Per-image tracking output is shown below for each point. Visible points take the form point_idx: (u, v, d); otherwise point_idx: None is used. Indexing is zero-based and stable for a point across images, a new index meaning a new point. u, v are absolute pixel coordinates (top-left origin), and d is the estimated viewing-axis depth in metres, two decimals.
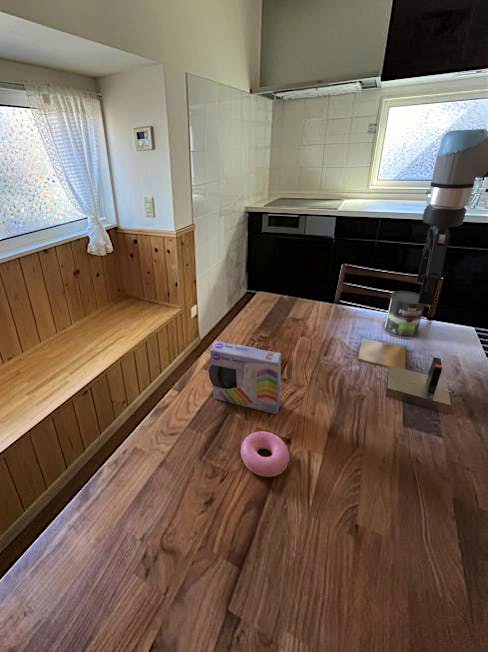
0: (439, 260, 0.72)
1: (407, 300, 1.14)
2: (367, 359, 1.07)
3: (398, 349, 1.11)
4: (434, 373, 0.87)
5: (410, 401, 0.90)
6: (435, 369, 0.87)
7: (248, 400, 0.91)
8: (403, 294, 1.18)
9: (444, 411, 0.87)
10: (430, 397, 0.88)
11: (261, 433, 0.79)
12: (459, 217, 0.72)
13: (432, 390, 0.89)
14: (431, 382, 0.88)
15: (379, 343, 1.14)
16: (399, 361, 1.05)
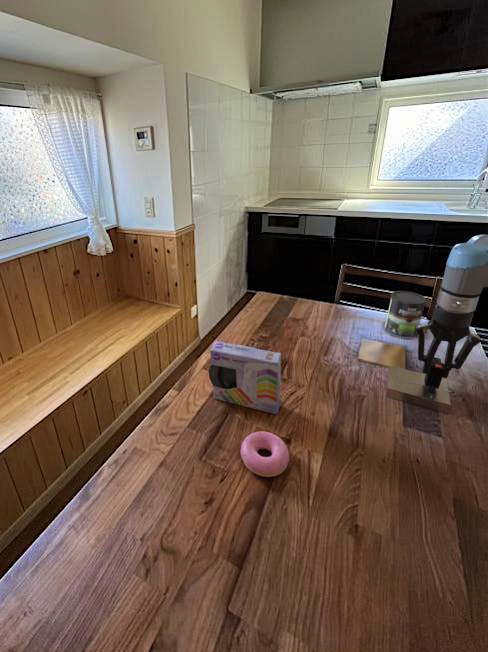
0: None
1: (407, 300, 1.14)
2: (367, 359, 1.07)
3: (398, 349, 1.11)
4: (434, 373, 0.87)
5: (410, 401, 0.90)
6: (435, 369, 0.87)
7: (248, 400, 0.91)
8: (404, 294, 1.18)
9: (444, 411, 0.87)
10: (430, 397, 0.88)
11: (261, 433, 0.79)
12: None
13: (432, 390, 0.89)
14: (431, 382, 0.88)
15: (379, 343, 1.14)
16: (399, 361, 1.05)
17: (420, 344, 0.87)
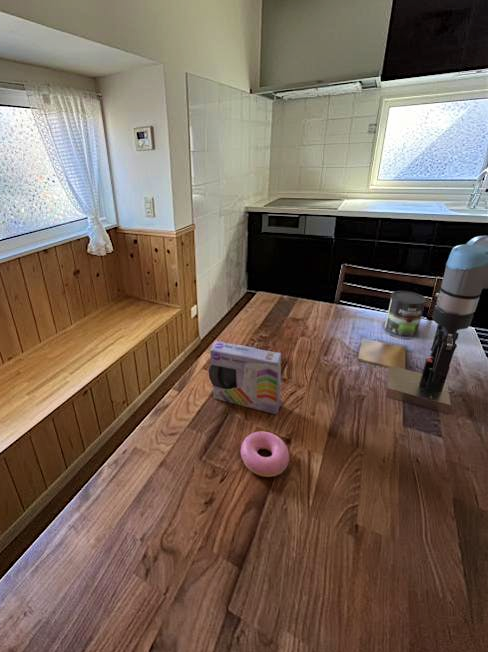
0: (445, 362, 0.81)
1: (407, 300, 1.14)
2: (367, 359, 1.07)
3: (398, 349, 1.11)
4: None
5: (410, 401, 0.90)
6: (425, 361, 0.90)
7: (248, 400, 0.91)
8: (404, 294, 1.18)
9: (444, 411, 0.87)
10: (430, 397, 0.88)
11: (261, 433, 0.79)
12: (467, 322, 0.79)
13: (420, 382, 0.92)
14: (422, 373, 0.92)
15: (379, 343, 1.14)
16: (399, 361, 1.05)
17: (435, 334, 0.91)
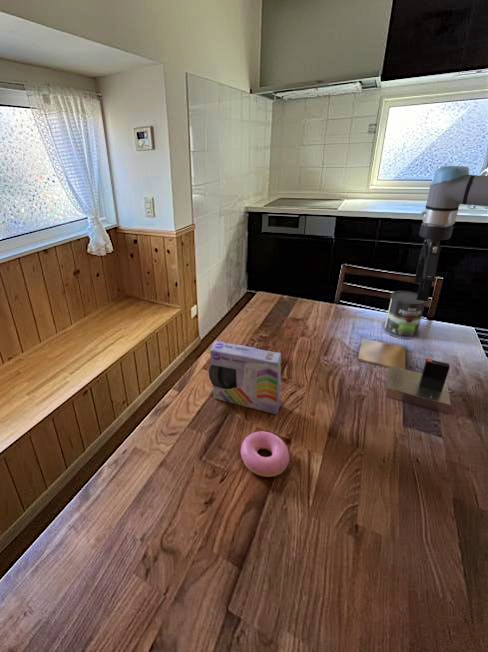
0: (433, 266, 0.93)
1: (407, 300, 1.14)
2: (367, 359, 1.07)
3: (398, 349, 1.11)
4: None
5: (410, 401, 0.90)
6: (425, 361, 0.90)
7: (248, 400, 0.91)
8: (404, 294, 1.18)
9: (444, 411, 0.87)
10: (430, 397, 0.88)
11: (261, 433, 0.79)
12: (448, 233, 0.93)
13: (420, 382, 0.92)
14: (422, 373, 0.92)
15: (379, 343, 1.14)
16: (399, 361, 1.05)
17: None
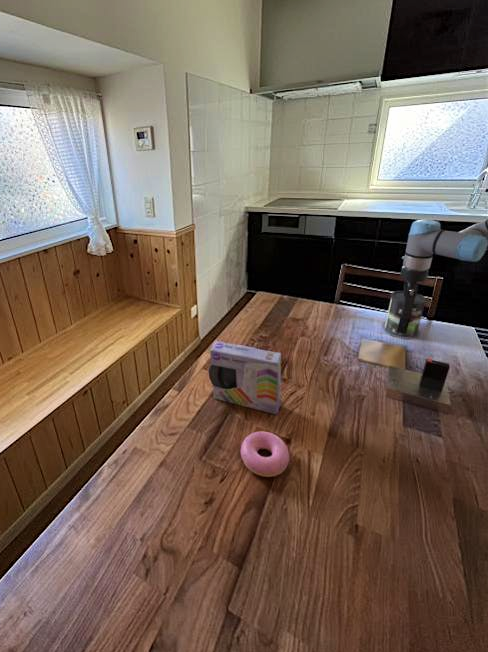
0: (409, 306, 1.09)
1: None
2: (367, 359, 1.07)
3: (398, 349, 1.11)
4: None
5: (410, 401, 0.90)
6: (425, 361, 0.90)
7: (248, 400, 0.91)
8: (403, 294, 1.18)
9: (444, 411, 0.87)
10: (430, 397, 0.88)
11: (261, 433, 0.79)
12: (423, 276, 1.09)
13: (420, 382, 0.92)
14: (422, 373, 0.92)
15: (379, 343, 1.14)
16: (399, 361, 1.05)
17: None
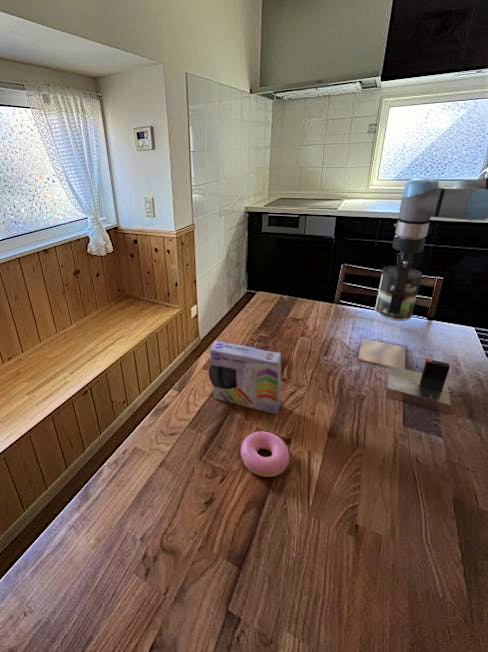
0: (403, 281, 0.94)
1: None
2: (367, 359, 1.07)
3: (398, 349, 1.11)
4: None
5: (410, 401, 0.90)
6: (425, 361, 0.90)
7: (248, 400, 0.91)
8: None
9: (444, 411, 0.87)
10: (430, 397, 0.88)
11: (261, 433, 0.79)
12: (419, 246, 0.93)
13: (420, 382, 0.92)
14: (422, 373, 0.92)
15: (379, 343, 1.14)
16: (399, 361, 1.05)
17: None
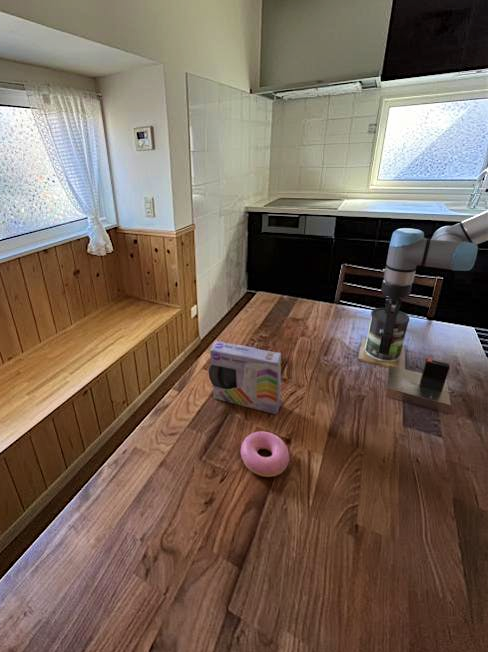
0: (391, 324, 0.96)
1: None
2: (367, 359, 1.07)
3: None
4: None
5: (410, 401, 0.90)
6: (425, 361, 0.90)
7: (248, 400, 0.91)
8: None
9: (444, 411, 0.87)
10: (430, 397, 0.88)
11: (261, 433, 0.79)
12: (406, 292, 0.97)
13: (420, 382, 0.92)
14: (422, 373, 0.92)
15: None
16: (399, 361, 1.05)
17: None
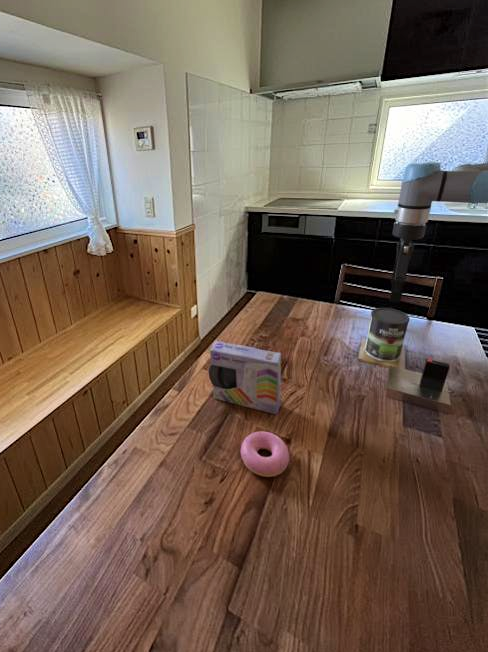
0: (404, 266, 0.89)
1: (388, 319, 1.02)
2: (367, 359, 1.07)
3: None
4: None
5: (410, 401, 0.90)
6: (425, 361, 0.90)
7: (248, 400, 0.91)
8: (385, 311, 1.06)
9: (444, 411, 0.87)
10: (430, 397, 0.88)
11: (261, 433, 0.79)
12: (420, 232, 0.89)
13: (420, 382, 0.92)
14: (422, 373, 0.92)
15: None
16: (399, 361, 1.05)
17: None
